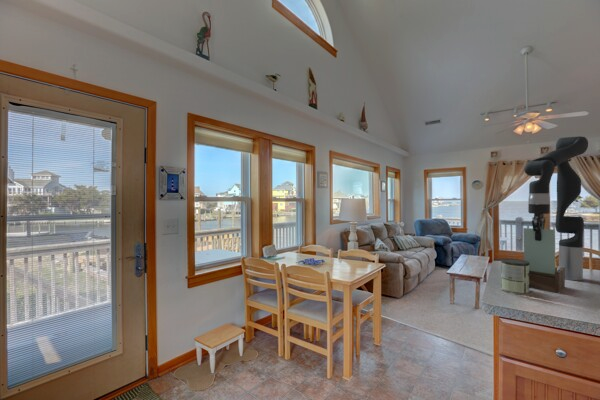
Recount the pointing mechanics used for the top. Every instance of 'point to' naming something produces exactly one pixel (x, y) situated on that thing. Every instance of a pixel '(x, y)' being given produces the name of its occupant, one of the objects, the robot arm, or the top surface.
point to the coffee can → (515, 276)
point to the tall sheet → (540, 250)
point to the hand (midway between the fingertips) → (538, 240)
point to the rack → (548, 281)
